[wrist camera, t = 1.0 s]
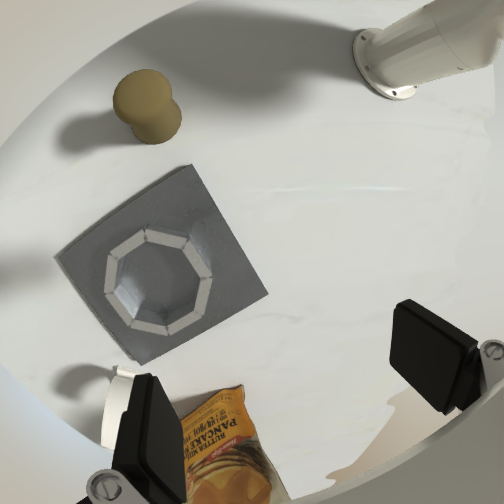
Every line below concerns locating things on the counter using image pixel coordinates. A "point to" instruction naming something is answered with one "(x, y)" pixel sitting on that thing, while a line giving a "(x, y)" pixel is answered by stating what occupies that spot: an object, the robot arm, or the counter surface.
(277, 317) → the counter surface
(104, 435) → the headphone stand
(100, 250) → the plate
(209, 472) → the pancake mix bag
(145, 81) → the cork
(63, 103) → the counter surface
